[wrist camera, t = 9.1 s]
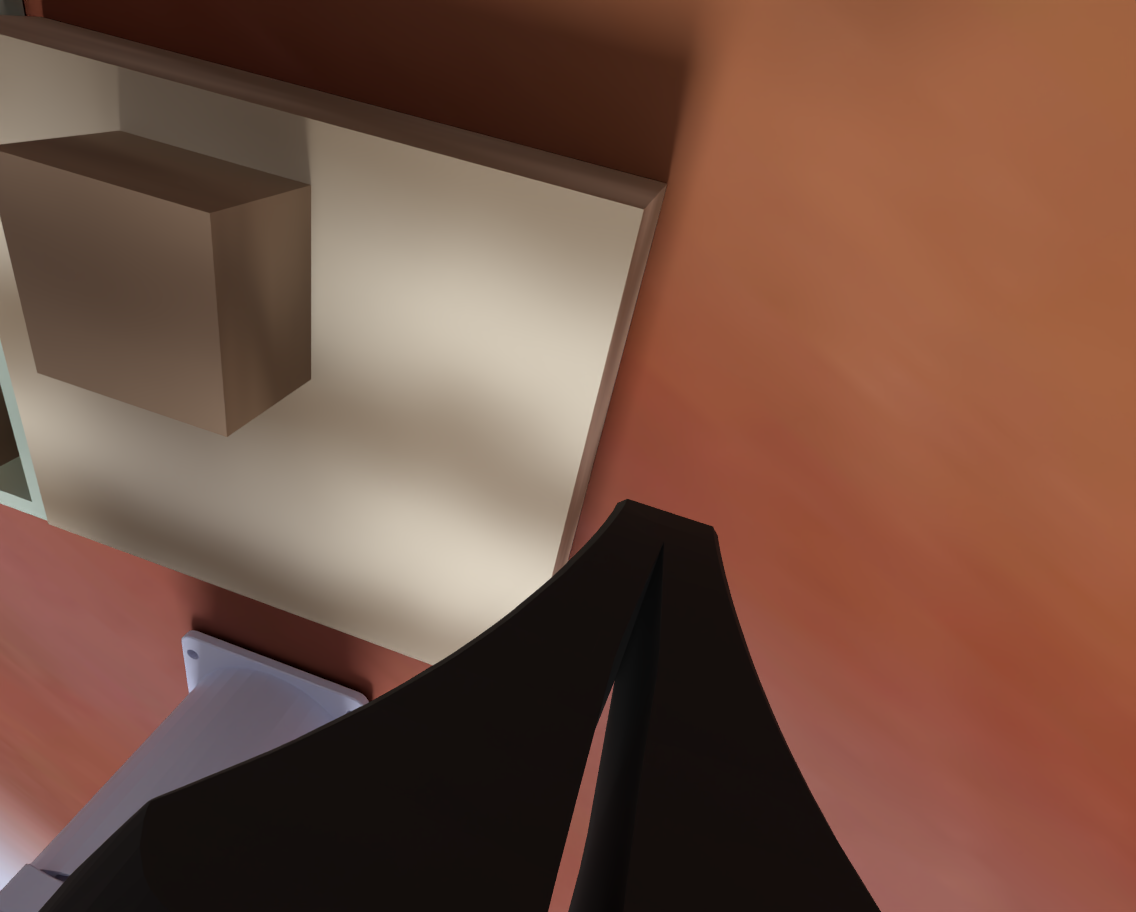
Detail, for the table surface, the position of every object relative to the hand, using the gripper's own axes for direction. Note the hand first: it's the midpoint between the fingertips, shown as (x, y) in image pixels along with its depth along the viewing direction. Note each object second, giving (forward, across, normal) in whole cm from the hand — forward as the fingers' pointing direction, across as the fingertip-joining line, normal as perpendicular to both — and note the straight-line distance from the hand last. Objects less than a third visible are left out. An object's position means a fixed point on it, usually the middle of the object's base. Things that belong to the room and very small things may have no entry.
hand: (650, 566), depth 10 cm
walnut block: (+5, +11, 0) cm, 12 cm away
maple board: (+8, +10, +4) cm, 14 cm away
